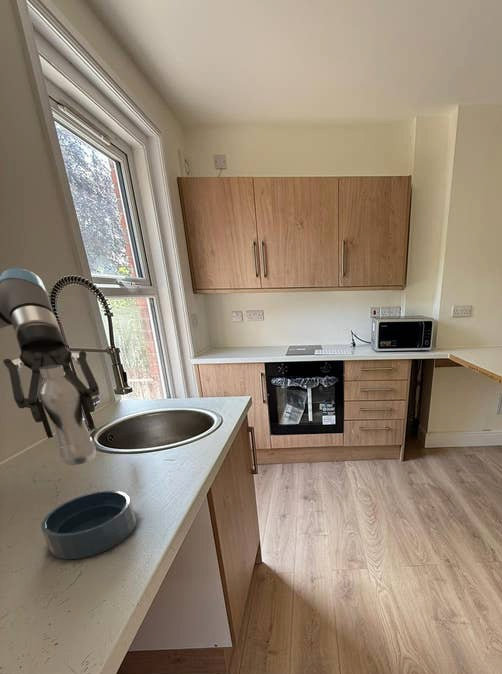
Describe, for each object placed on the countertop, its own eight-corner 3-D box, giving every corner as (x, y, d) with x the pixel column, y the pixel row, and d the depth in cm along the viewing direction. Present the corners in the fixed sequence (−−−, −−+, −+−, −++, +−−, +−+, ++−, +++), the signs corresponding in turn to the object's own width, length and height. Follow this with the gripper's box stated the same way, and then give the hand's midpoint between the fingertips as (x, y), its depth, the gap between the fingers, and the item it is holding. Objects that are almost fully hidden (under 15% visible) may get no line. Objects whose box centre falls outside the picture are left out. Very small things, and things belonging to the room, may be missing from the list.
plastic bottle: (90, 452, 77) (62, 362, 69) (105, 459, 73) (77, 365, 66) (57, 463, 72) (23, 368, 64) (71, 472, 69) (37, 372, 61)
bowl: (33, 565, 62) (21, 538, 60) (80, 515, 75) (72, 492, 73) (115, 560, 63) (106, 533, 60) (148, 512, 76) (142, 488, 74)
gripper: (94, 341, 81) (126, 426, 75) (-16, 352, 70) (12, 452, 64) (90, 319, 75) (125, 409, 69) (-30, 326, 64) (0, 434, 58)
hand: (71, 429), depth 67 cm, fingers closed on plastic bottle, 6 cm apart
